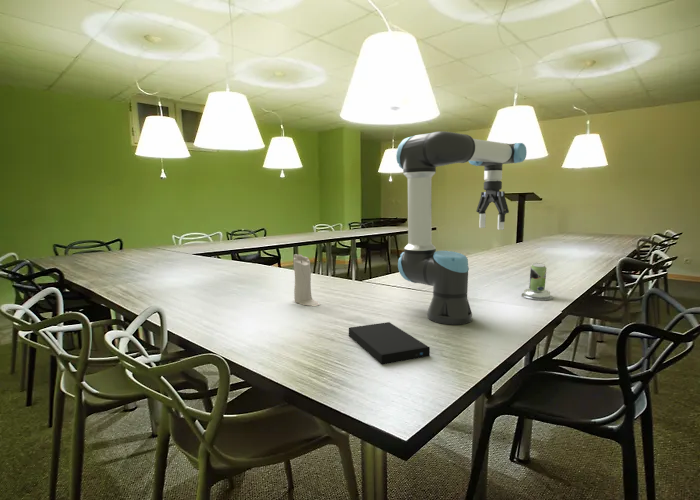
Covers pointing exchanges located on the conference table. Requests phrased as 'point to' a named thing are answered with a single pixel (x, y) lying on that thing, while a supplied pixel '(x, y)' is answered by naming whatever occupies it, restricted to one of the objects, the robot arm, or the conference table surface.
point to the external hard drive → (388, 343)
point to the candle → (303, 281)
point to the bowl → (537, 295)
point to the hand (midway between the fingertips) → (491, 228)
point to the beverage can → (537, 277)
